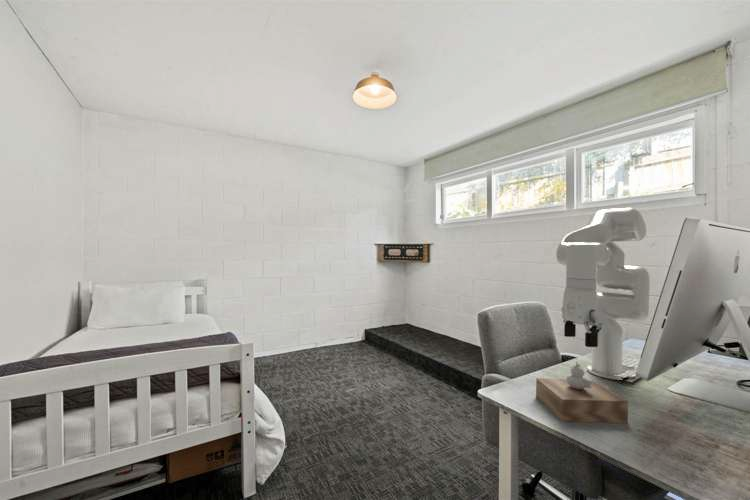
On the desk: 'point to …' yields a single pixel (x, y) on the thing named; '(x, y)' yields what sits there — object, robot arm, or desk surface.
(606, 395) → the walnut block
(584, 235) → the robot arm
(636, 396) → the desk surface
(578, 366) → the grey lumpy piece
